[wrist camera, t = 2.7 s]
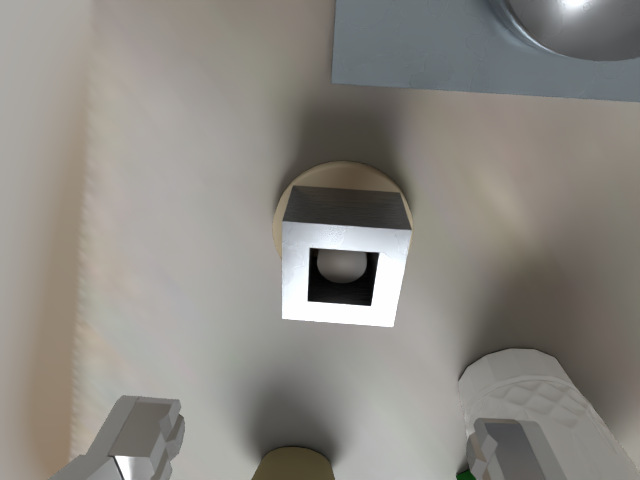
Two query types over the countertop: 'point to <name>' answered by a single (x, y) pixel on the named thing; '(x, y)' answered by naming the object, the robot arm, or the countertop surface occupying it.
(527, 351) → the white cup
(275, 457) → the squeeze bottle
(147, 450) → the robot arm
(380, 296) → the square hollow frame
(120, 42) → the countertop surface
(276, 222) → the stand
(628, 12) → the grey plate with knob
